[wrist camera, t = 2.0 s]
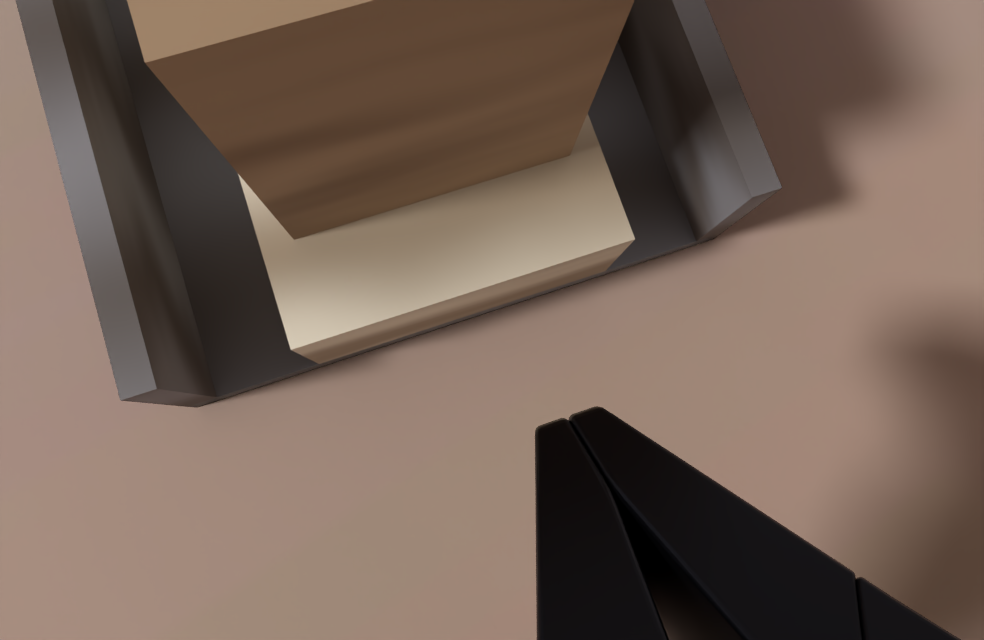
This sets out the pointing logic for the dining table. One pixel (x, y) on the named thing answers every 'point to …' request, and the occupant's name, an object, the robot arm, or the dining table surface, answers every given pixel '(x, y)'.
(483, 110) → the walnut block
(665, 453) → the robot arm
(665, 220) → the trap box
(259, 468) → the dining table surface
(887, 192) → the dining table surface
